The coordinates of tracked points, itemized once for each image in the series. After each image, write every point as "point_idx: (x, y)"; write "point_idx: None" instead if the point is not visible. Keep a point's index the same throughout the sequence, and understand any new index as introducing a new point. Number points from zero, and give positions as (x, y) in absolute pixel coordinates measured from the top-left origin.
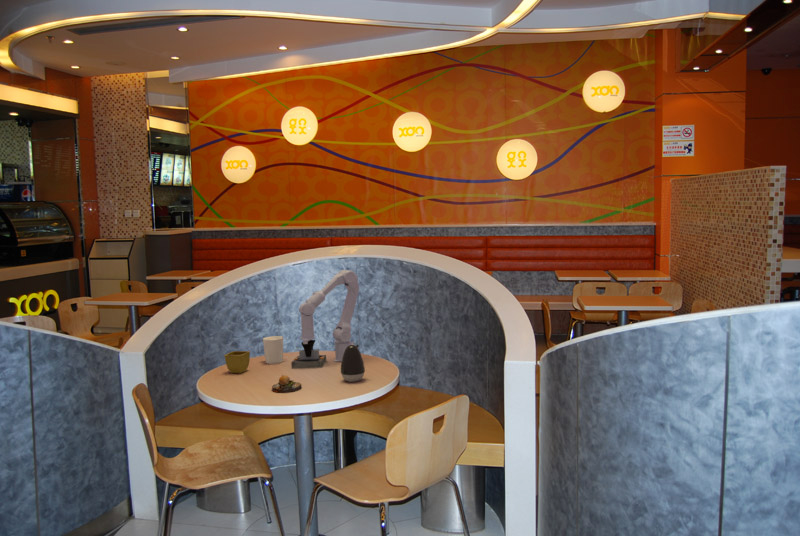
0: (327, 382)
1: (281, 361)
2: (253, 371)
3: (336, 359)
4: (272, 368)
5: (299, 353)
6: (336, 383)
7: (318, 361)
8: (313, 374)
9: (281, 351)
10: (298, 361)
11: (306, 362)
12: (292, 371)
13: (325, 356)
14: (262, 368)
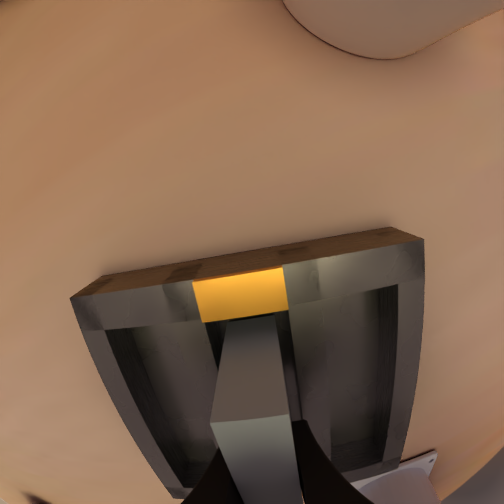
0: (3, 465)
1: (355, 52)
2: (29, 15)
3: (366, 487)
4: (94, 81)
5: (216, 391)
6: (12, 481)
7: (166, 488)
8: (41, 436)
9: (403, 5)
10: (113, 363)
11: (129, 424)
12: (34, 315)
13: (365, 474)
14: (103, 4)
